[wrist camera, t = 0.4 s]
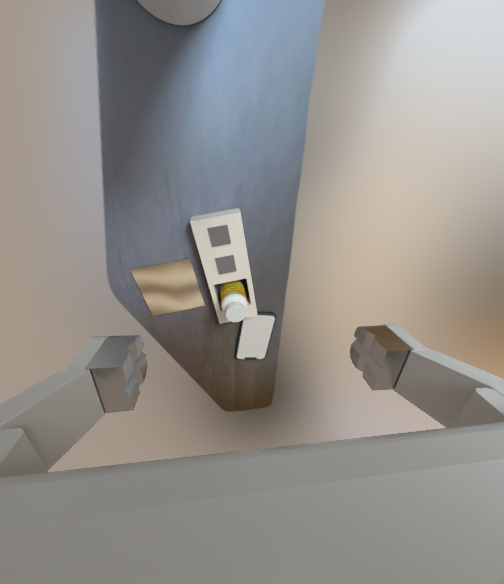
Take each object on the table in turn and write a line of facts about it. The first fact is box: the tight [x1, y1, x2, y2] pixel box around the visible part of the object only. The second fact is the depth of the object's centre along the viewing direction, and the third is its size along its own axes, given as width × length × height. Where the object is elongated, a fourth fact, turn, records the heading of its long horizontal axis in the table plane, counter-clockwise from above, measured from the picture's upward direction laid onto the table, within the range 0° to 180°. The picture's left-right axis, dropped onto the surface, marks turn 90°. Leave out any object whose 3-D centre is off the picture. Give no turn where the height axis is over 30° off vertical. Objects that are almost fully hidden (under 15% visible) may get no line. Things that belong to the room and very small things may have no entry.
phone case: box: [235, 311, 276, 360], centre depth 62 cm, size 9×2×16 cm
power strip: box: [190, 208, 258, 324], centre depth 49 cm, size 24×9×4 cm, turn 8°
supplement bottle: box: [220, 280, 248, 322], centre depth 49 cm, size 5×5×10 cm
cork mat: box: [131, 258, 205, 316], centre depth 51 cm, size 12×12×1 cm
